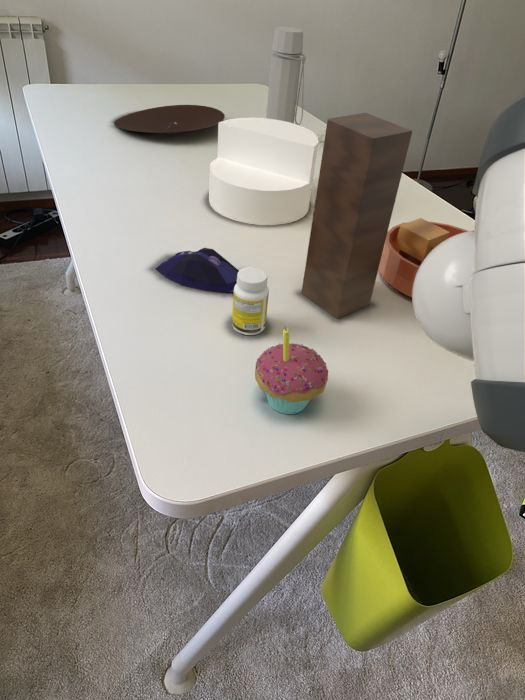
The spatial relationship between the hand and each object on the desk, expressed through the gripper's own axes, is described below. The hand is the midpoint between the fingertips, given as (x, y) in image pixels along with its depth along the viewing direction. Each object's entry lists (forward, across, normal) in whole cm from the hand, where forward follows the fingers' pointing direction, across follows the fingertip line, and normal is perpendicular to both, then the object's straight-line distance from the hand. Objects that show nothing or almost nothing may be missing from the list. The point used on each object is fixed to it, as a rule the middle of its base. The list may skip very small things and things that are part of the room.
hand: (513, 181), depth 76 cm
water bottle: (+52, -20, +53) cm, 77 cm away
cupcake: (-11, +39, +16) cm, 44 cm away
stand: (0, +19, +22) cm, 29 cm away
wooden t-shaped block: (-2, 0, +18) cm, 18 cm away
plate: (+70, 0, +63) cm, 95 cm away
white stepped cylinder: (+29, +8, +39) cm, 50 cm away
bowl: (-4, 0, +20) cm, 21 cm away
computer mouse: (+14, +32, +31) cm, 47 cm away
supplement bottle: (+1, +34, +23) cm, 42 cm away
